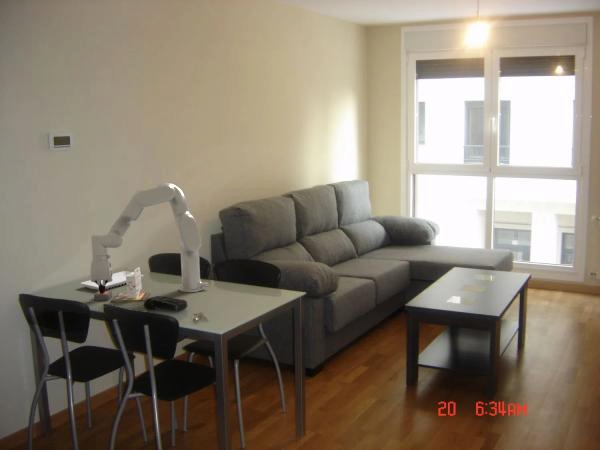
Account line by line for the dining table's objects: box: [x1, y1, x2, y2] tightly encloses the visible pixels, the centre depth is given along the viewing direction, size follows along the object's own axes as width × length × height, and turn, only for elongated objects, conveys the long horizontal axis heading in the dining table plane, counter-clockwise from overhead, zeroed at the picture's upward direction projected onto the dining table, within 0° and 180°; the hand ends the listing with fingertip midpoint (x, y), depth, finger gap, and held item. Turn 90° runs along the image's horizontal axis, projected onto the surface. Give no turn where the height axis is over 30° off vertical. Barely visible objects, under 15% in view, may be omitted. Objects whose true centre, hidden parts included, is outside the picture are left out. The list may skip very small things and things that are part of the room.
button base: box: [93, 290, 113, 302], centre depth 338 cm, size 7×7×3 cm
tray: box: [79, 270, 144, 291], centre depth 366 cm, size 17×31×4 cm, turn 146°
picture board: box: [110, 292, 151, 303], centre depth 339 cm, size 17×13×1 cm
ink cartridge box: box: [125, 266, 143, 299], centre depth 338 cm, size 9×5×15 cm, turn 173°
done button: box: [97, 290, 110, 295], centre depth 338 cm, size 5×5×2 cm
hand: (102, 292), depth 338 cm, fingers closed
